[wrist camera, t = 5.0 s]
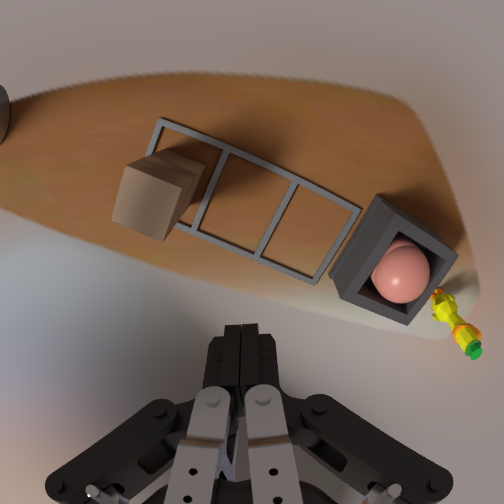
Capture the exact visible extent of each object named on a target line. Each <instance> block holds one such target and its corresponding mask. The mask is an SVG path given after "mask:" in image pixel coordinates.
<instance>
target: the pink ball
mask: <svg viewBox="0 0 504 504" xmlns="http://www.w3.org/2000/svg"><path fill="white" fill-rule="evenodd" d="M369 276H370V278H371V280H372V281H373V283H374V285H375V287H376V288H377V290H378V292H379V293H380V294H381V295H382V296H383V297H384V298H385V299H387V300H389V301H391V302H394V303H407V302H410V301H413V300H415V299H416V298H418V297H419V296H420V295H421V294H422V293H423V292H424V290H425V288H426V286H427V284H428V281H429V276H430V269H429V264H428V261H427V259H426V257H425V255H424V254H423V252H422V251H421V250H420V249H419V248H418V247H417V246H416V245H415V244H414V243H413V242H412V241H411V240H410V239H409V238H408V237H407V236H405V235H403V234H399V233H397V234H396V235H395V237H394V239H393V240H392V242H391V243H390V245H389V247H388V248H387V250H386V251H385V253H384V254H383V256H382V257H381V259H380V260H379V262H378V263H377V265H376V266H375V268H374V269H373V271H372V272H371V274H370V275H369Z"/></svg>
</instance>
